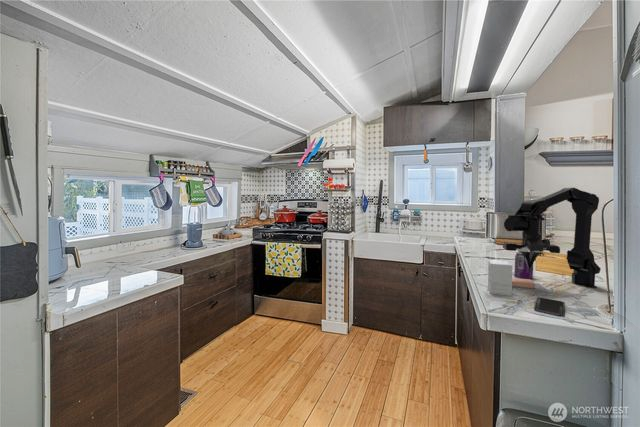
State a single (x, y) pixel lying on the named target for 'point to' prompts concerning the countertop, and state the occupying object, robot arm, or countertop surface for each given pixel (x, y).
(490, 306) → the countertop surface
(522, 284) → the tile
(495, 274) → the supplement box
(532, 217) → the robot arm
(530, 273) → the beverage can
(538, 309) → the phone
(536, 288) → the mat
